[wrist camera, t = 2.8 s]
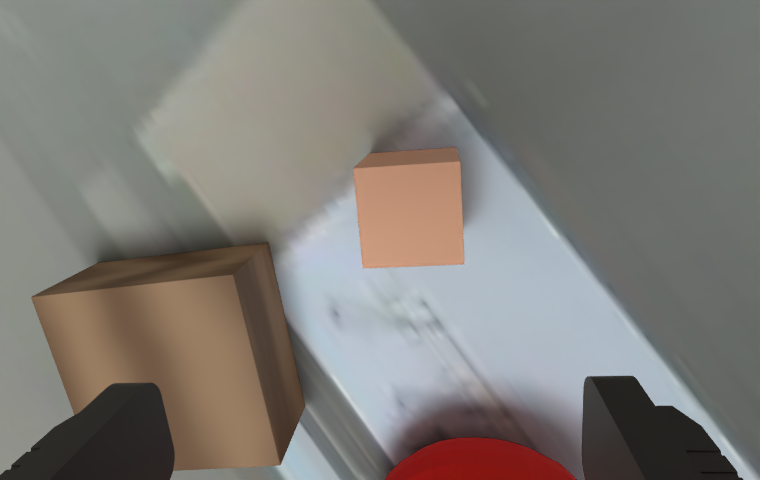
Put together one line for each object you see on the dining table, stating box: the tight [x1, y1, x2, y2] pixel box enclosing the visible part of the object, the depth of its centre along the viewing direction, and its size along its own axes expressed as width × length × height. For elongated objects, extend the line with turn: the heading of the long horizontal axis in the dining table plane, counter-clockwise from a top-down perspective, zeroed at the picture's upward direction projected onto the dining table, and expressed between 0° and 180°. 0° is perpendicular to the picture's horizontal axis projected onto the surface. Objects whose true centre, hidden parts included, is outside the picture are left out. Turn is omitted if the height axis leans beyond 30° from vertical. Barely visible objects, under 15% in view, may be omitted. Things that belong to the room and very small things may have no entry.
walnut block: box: [31, 243, 305, 471], centre depth 32 cm, size 12×12×6 cm
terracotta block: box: [353, 147, 464, 268], centre depth 27 cm, size 5×5×6 cm
